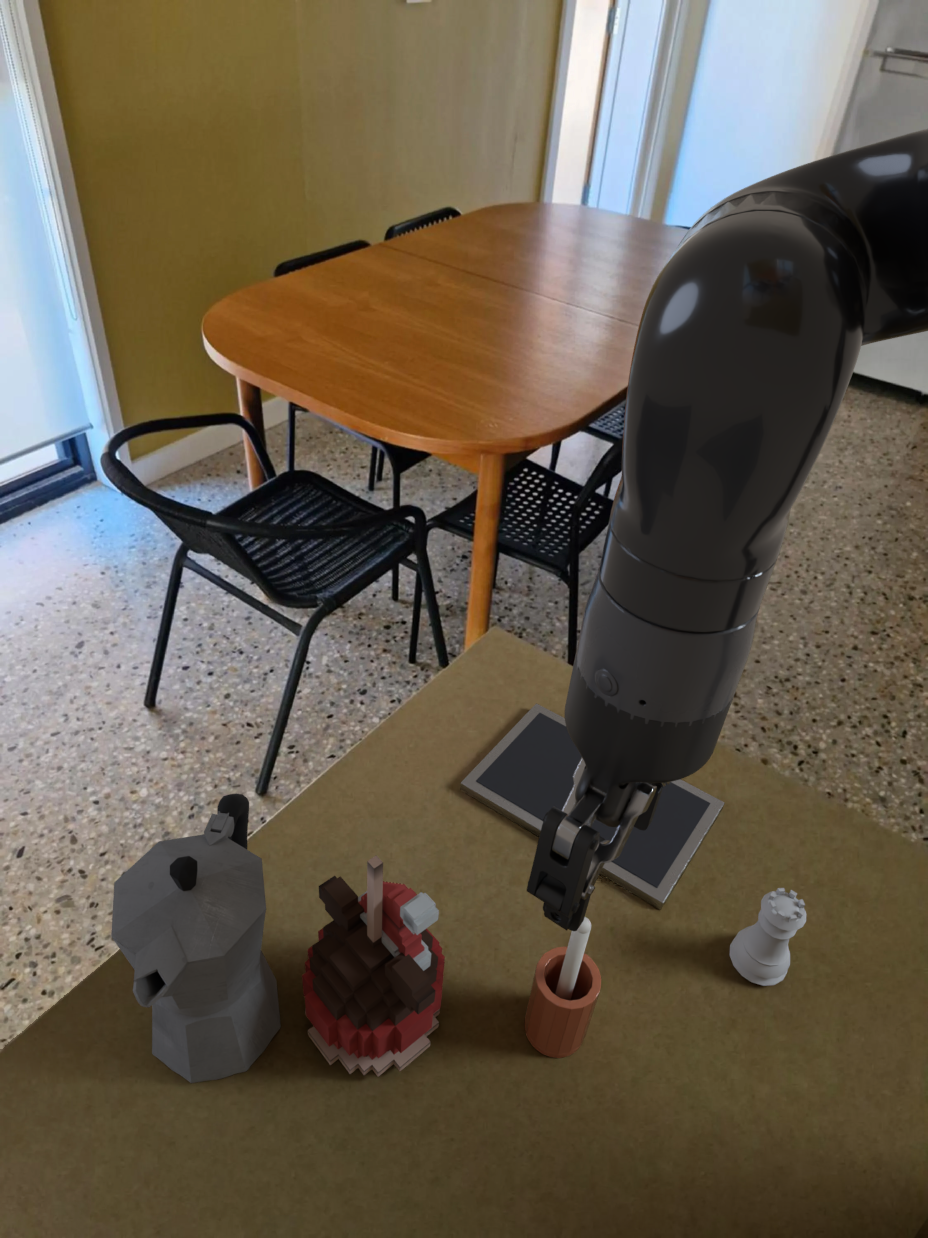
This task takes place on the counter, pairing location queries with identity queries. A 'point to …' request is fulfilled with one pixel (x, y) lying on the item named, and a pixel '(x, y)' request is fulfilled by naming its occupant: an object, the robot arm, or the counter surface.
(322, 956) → the cake
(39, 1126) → the counter surface
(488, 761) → the tablet
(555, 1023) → the pen cup
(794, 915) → the rook chess piece
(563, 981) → the stylus
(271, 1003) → the coffeepot
